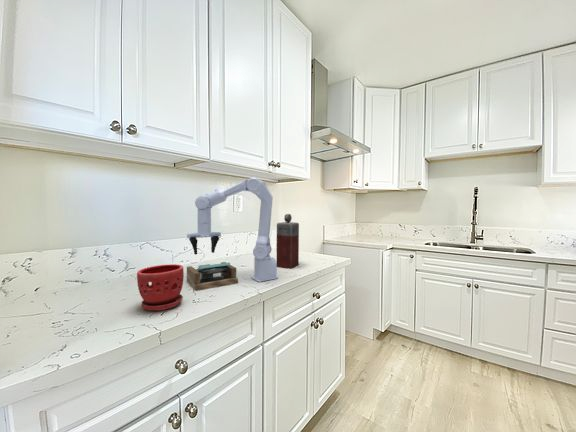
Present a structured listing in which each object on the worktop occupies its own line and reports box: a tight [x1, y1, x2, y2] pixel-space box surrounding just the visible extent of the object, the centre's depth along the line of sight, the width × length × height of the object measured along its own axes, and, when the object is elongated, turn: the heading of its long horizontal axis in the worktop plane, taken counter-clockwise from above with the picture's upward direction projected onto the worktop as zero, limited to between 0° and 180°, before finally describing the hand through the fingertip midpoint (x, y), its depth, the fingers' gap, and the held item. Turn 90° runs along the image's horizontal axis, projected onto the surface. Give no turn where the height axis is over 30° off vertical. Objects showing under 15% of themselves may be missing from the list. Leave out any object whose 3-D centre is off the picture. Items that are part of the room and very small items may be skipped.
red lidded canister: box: [275, 213, 300, 270], centre depth 132 cm, size 9×11×28 cm
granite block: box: [197, 263, 214, 280], centre depth 110 cm, size 5×5×5 cm
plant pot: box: [136, 263, 185, 312], centre depth 78 cm, size 13×13×12 cm
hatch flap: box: [195, 262, 231, 275], centre depth 103 cm, size 12×12×3 cm
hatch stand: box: [186, 261, 239, 291], centre depth 103 cm, size 17×15×6 cm
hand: (204, 253), depth 111 cm, fingers open, 7 cm apart
